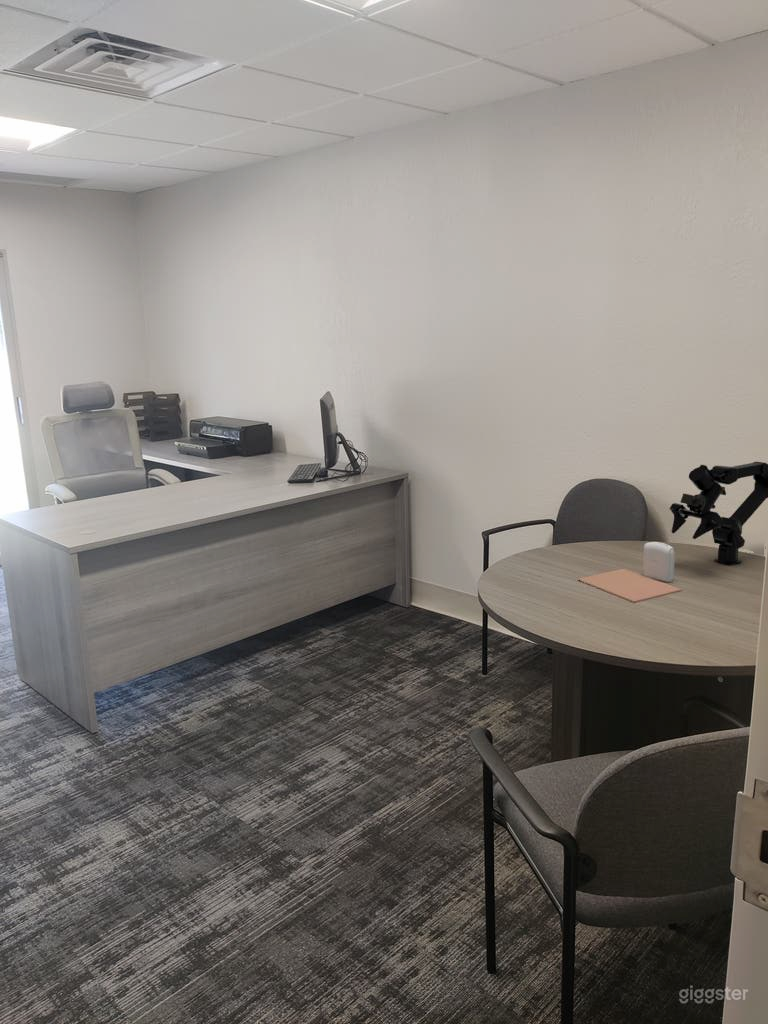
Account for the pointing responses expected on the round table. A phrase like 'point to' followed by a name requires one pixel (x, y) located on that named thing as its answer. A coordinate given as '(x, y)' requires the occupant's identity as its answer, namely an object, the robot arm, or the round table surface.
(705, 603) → the round table surface
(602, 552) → the round table surface
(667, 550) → the photo printer
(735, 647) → the round table surface
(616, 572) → the mat
